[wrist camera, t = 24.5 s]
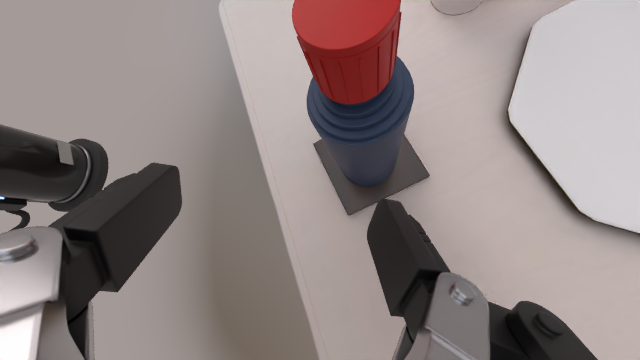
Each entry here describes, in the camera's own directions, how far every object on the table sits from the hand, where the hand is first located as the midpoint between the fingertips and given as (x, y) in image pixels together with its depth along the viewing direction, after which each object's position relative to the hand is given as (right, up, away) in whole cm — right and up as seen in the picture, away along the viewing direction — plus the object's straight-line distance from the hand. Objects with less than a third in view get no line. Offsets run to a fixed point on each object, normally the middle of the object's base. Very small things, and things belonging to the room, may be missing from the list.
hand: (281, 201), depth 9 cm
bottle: (+7, +3, +18) cm, 19 cm away
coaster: (+7, +3, +18) cm, 20 cm away
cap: (+3, +7, +2) cm, 8 cm away
